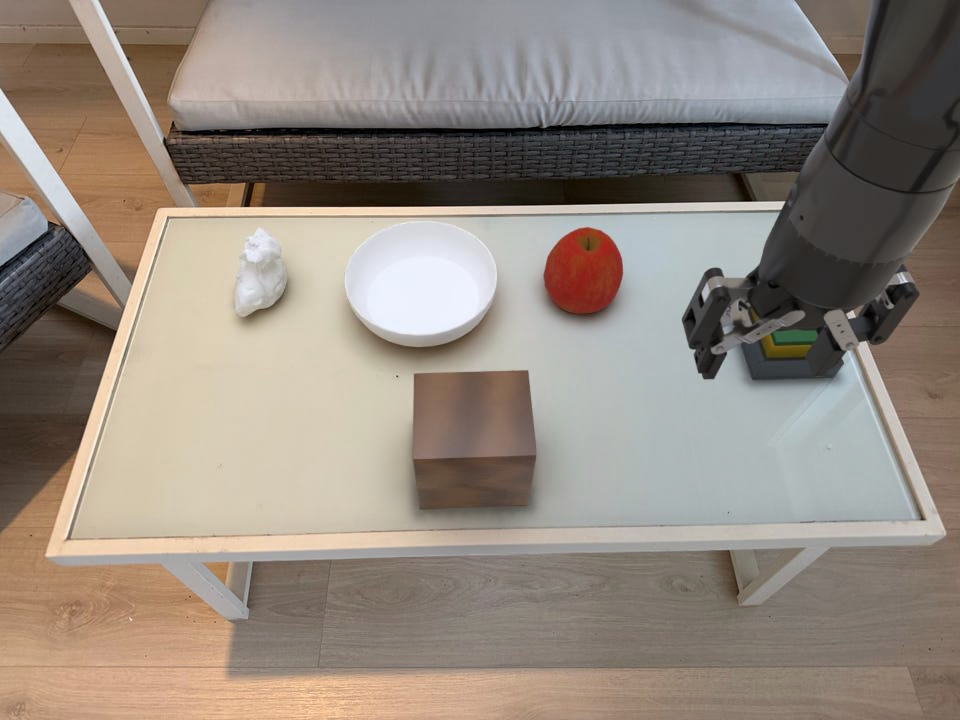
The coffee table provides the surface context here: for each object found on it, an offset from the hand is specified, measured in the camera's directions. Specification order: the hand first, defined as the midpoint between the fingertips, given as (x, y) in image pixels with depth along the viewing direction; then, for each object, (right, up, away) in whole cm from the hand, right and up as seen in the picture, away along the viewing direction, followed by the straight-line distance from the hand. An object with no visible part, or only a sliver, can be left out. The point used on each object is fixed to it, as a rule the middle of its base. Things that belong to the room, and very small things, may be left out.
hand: (759, 368), depth 54 cm
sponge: (+17, +4, +37) cm, 41 cm away
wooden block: (-23, -12, +26) cm, 36 cm away
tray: (+17, +4, +37) cm, 41 cm away
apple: (-8, +10, +41) cm, 43 cm away
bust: (-51, +10, +40) cm, 65 cm away
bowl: (-29, +8, +40) cm, 50 cm away
